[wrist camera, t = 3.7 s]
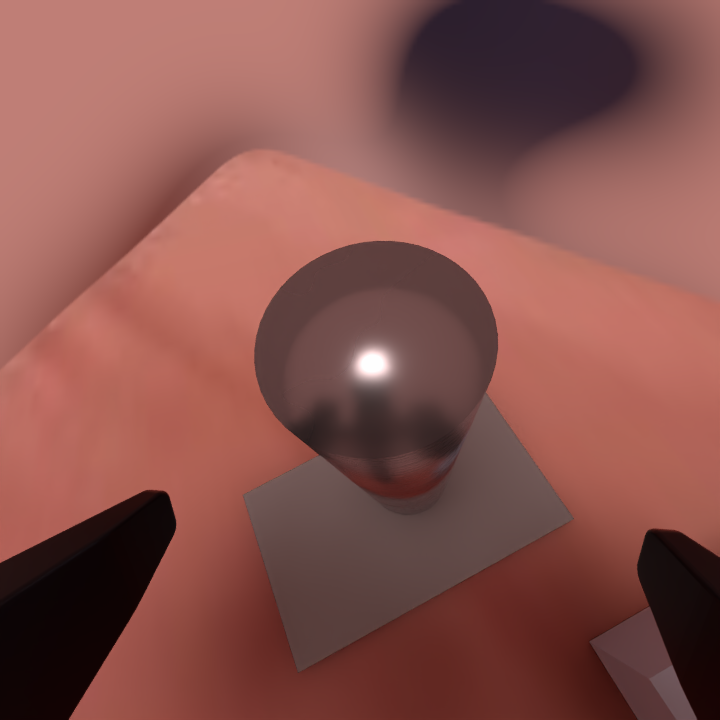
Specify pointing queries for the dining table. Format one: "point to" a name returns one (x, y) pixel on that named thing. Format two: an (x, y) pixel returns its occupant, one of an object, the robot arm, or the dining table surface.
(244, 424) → the dining table surface
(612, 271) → the dining table surface
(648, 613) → the block
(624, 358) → the dining table surface
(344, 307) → the pin
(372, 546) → the base plate
